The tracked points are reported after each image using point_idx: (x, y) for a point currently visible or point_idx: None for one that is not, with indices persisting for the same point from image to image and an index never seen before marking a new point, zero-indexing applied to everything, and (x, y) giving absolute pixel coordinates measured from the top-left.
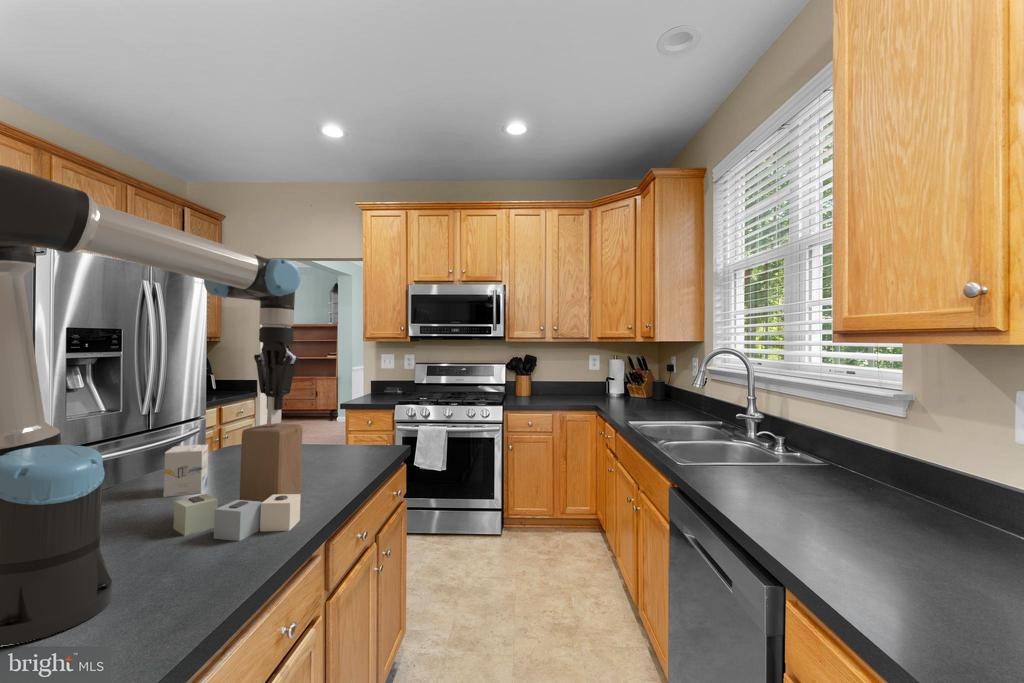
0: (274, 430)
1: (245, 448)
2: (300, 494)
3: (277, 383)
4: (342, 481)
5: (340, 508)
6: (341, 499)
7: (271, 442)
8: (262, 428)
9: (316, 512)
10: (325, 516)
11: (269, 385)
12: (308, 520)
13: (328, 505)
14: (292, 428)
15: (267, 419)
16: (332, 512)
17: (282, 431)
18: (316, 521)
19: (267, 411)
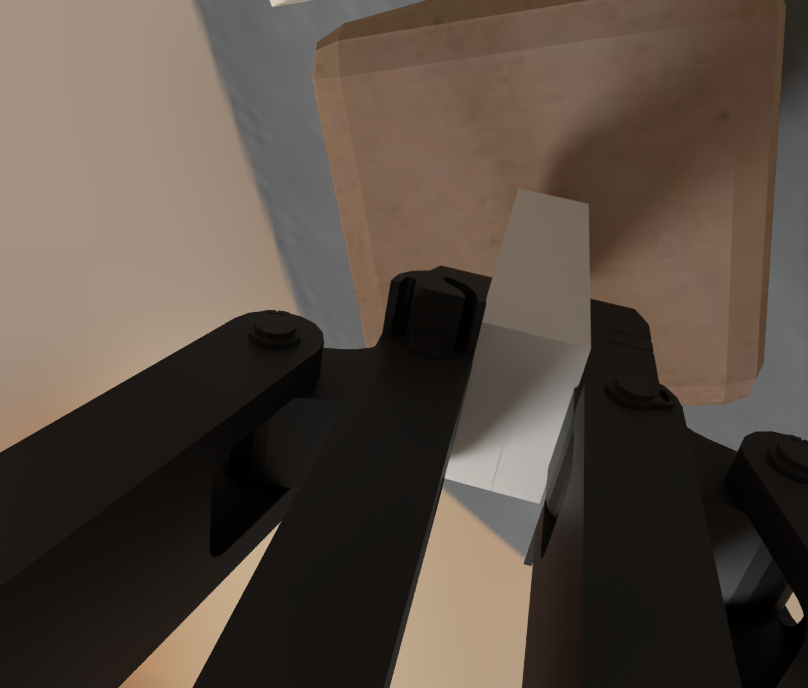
0: (379, 58)
1: None
2: (271, 4)
3: (312, 480)
4: (490, 508)
5: (258, 190)
6: (332, 294)
7: (406, 10)
8: (567, 94)
9: (319, 114)
10: (247, 80)
11: (577, 499)
12: (280, 9)
13: (333, 211)
14: (351, 261)
15: (581, 217)
16: (255, 135)
17: (317, 94)
18: (239, 10)
19: (587, 253)
